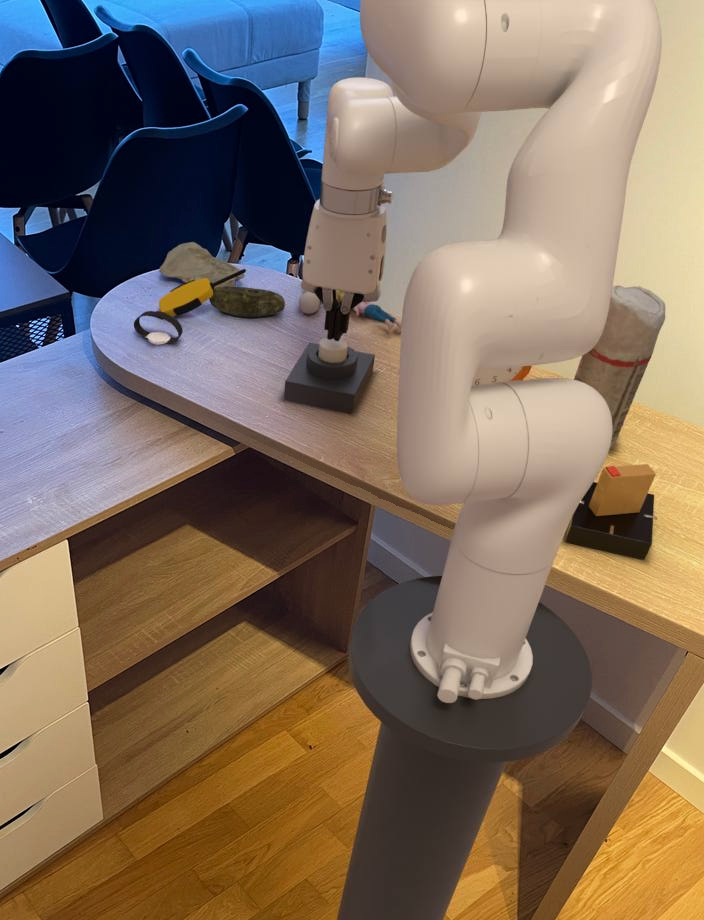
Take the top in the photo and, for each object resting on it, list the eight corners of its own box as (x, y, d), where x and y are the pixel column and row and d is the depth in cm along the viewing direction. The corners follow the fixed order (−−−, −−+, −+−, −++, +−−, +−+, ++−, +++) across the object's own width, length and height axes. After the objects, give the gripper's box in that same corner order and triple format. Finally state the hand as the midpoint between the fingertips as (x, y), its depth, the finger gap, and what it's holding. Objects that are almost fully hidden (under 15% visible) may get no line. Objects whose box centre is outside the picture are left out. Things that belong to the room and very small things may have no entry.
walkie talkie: (165, 324, 144) (251, 286, 140) (160, 316, 143) (246, 277, 138) (162, 303, 146) (246, 264, 142) (156, 295, 145) (241, 255, 140)
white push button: (342, 366, 125) (344, 352, 124) (314, 361, 126) (316, 347, 125) (349, 353, 128) (351, 339, 126) (322, 348, 129) (323, 334, 127)
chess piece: (339, 290, 150) (326, 320, 145) (309, 295, 152) (295, 324, 147) (331, 260, 146) (317, 289, 141) (300, 265, 149) (286, 295, 143)
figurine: (405, 337, 143) (346, 297, 152) (415, 310, 141) (354, 271, 149) (379, 339, 140) (320, 298, 148) (388, 311, 137) (328, 271, 145)
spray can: (569, 414, 126) (617, 272, 112) (626, 435, 122) (683, 292, 108) (543, 439, 121) (589, 295, 107) (601, 462, 118) (656, 317, 104)
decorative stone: (279, 304, 148) (281, 280, 145) (286, 317, 145) (288, 293, 142) (208, 309, 146) (208, 285, 144) (213, 323, 143) (213, 298, 140)
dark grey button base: (352, 414, 125) (356, 381, 122) (283, 400, 127) (285, 367, 124) (372, 373, 133) (377, 341, 129) (307, 360, 135) (310, 329, 132)
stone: (254, 267, 151) (214, 293, 147) (254, 283, 153) (214, 309, 149) (188, 237, 157) (148, 260, 153) (189, 253, 159) (150, 276, 155)
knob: (631, 502, 108) (648, 462, 104) (639, 512, 106) (656, 472, 102) (588, 506, 107) (603, 465, 103) (595, 516, 106) (611, 476, 102)
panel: (647, 561, 104) (655, 543, 102) (561, 541, 106) (568, 523, 104) (650, 511, 111) (658, 493, 109) (569, 494, 113) (575, 476, 111)
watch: (142, 328, 141) (132, 344, 140) (137, 304, 137) (126, 319, 136) (186, 339, 139) (176, 354, 138) (182, 313, 135) (172, 329, 134)
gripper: (416, 194, 112) (394, 333, 125) (301, 178, 116) (291, 315, 129) (403, 215, 107) (382, 358, 120) (283, 198, 111) (275, 338, 124)
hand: (335, 335), depth 124 cm, fingers closed
